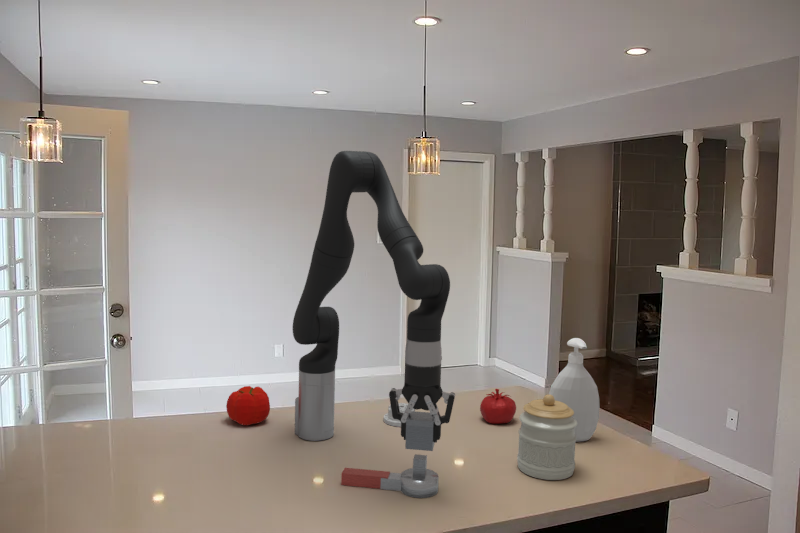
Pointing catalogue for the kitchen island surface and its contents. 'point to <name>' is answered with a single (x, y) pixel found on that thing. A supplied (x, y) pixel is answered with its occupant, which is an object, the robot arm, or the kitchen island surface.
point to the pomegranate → (497, 408)
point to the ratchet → (396, 479)
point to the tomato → (248, 405)
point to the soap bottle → (578, 392)
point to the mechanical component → (389, 419)
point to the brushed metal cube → (420, 431)
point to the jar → (547, 439)
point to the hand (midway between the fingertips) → (420, 439)
